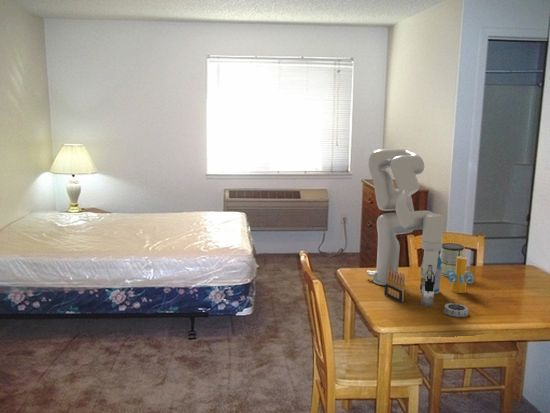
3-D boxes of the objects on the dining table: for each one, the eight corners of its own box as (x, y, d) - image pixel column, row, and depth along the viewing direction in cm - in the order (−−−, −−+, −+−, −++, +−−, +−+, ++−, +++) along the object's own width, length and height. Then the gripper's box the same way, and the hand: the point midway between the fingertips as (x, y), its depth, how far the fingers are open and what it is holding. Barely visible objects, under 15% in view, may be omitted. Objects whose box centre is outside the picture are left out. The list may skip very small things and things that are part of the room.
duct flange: (443, 315, 193) (443, 309, 193) (443, 307, 202) (444, 301, 201) (468, 319, 190) (469, 313, 190) (468, 310, 199) (468, 304, 198)
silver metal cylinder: (420, 305, 203) (421, 286, 202) (421, 301, 207) (422, 282, 206) (432, 307, 201) (434, 288, 200) (433, 303, 206) (434, 284, 204)
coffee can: (438, 270, 250) (440, 242, 248) (460, 271, 248) (462, 243, 246) (440, 276, 241) (442, 247, 238) (463, 278, 238) (465, 249, 236)
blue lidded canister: (441, 295, 215) (444, 249, 212) (420, 293, 217) (423, 248, 213) (438, 288, 224) (441, 244, 220) (418, 287, 225) (421, 243, 221)
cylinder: (474, 297, 214) (477, 262, 211) (448, 294, 216) (451, 260, 213) (469, 287, 226) (472, 254, 223) (444, 285, 228) (447, 253, 225)
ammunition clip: (404, 302, 206) (406, 274, 204) (401, 303, 205) (403, 274, 203) (388, 294, 216) (389, 266, 214) (384, 294, 215) (386, 267, 213)
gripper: (423, 240, 209) (421, 280, 212) (420, 249, 193) (418, 293, 195) (442, 241, 207) (440, 282, 209) (441, 251, 190) (438, 295, 193)
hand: (429, 287), depth 202 cm, fingers open, 9 cm apart
